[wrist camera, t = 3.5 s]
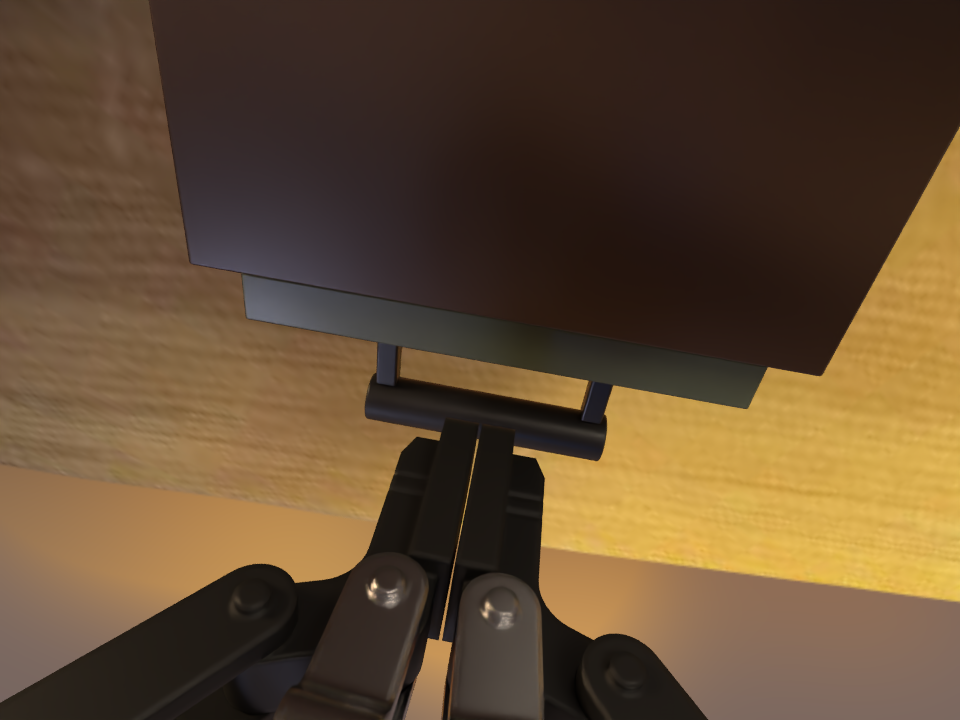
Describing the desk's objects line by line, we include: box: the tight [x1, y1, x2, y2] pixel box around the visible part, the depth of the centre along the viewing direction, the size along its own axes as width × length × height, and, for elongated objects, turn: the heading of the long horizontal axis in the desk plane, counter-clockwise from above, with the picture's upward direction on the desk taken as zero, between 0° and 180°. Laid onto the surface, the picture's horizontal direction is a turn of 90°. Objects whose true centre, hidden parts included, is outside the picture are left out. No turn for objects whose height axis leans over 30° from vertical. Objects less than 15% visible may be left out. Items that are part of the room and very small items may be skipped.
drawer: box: [241, 273, 767, 461], centre depth 15 cm, size 18×11×8 cm, turn 172°
